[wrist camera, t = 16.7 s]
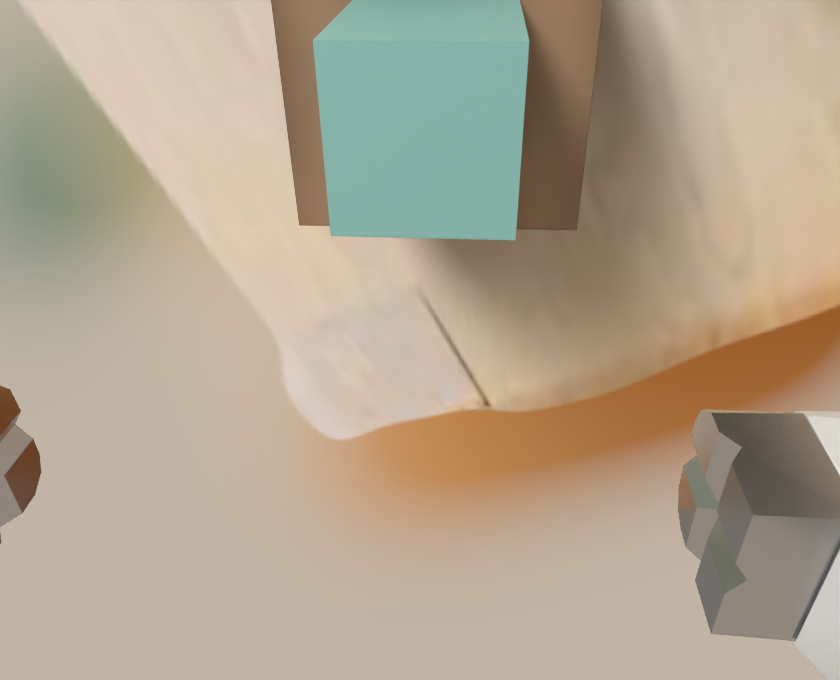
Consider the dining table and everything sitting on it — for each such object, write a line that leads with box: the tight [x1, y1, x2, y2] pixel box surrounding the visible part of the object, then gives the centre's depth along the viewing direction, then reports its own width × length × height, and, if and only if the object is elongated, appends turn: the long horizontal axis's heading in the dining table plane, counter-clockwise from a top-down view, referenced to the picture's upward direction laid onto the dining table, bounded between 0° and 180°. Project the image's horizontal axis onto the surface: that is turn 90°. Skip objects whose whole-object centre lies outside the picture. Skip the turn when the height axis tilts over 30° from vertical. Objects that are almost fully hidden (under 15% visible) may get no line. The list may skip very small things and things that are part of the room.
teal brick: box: [313, 0, 529, 240], centre depth 20 cm, size 5×5×6 cm
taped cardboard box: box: [271, 0, 603, 230], centre depth 28 cm, size 10×10×12 cm
